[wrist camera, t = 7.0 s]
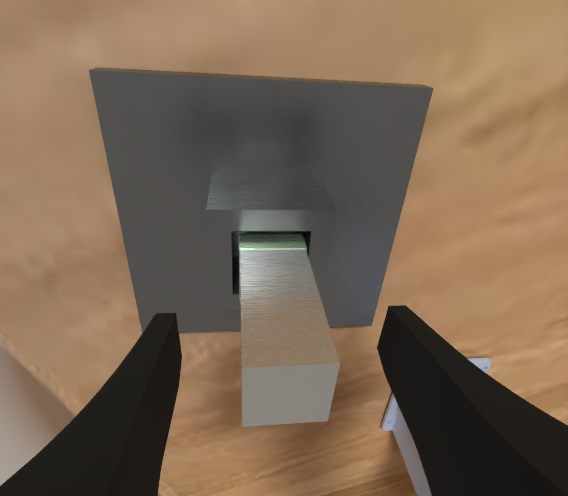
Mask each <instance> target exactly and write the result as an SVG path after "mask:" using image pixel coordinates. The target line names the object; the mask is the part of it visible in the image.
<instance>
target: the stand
mask: <svg viewBox="0 0 568 496" xmlns="http://www.w3.org/2000/svg"><path fill="white" fill-rule="evenodd" d="M89 72H90V77H91V82H92V87H93V92H94V97H95V102H96V106H97V111H98V116H99V121H100V126H101V131H102V136H103V141H104V146H105V151H106V156H107V161H108V165H109V170H110V175H111V180H112V185H113V190H114V195H115V200H116V205H117V210H118V215H119V220H120V225H121V229H122V234H123V239H124V244H125V249H126V254H127V259H128V264H129V269H130V274H131V279H132V284H133V288H134V293H135V298H136V303H137V308H138V313H139V318H140V323H141V328H142V333H143V332H144V330H145V329H146V327H147V326H148V324H149V322H150V321H151V319H152V318H153V316H154V315H155V314H156V313H176V316H177V324H178V331H179V333H182V332H210V331H239V330H241V309H240V301H239V237H240V234H301V235H302V237H304V240H305V244H306V247H307V251H306V252H307V255H308V258H309V261H310V265H311V268H312V271H313V275H314V278H315V281H316V285H317V288H318V291H319V295H320V298H321V301H322V305H323V308H324V311H325V315H326V318H327V321H328V324H329V327H352V326H372V322H373V318H374V314H375V310H376V307H377V303H378V299H379V295H380V291H381V287H382V283H383V280H384V276H385V272H386V268H387V264H388V260H389V256H390V253H391V249H392V245H393V241H394V237H395V233H396V230H397V226H398V222H399V218H400V214H401V210H402V206H403V203H404V199H405V195H406V191H407V187H408V183H409V179H410V176H411V172H412V168H413V164H414V160H415V156H416V152H417V149H418V145H419V141H420V137H421V133H422V129H423V126H424V122H425V118H426V114H427V110H428V106H429V102H430V99H431V95H432V91H433V88H431V87H428V86H425V85H413V84H395V83H376V82H357V81H339V80H320V79H301V78H283V77H264V76H245V75H227V74H208V73H189V72H171V71H152V70H133V69H115V68H94V69H91V70H89Z"/></svg>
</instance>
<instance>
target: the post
mask: <svg viewBox="0 0 568 496" xmlns="http://www.w3.org/2000/svg"><path fill="white" fill-rule="evenodd" d="M306 251H307V247H306V244H305V240H304V237H302V235H301V234H240V237H239V301H240V309H241V389H242V427H249V426H264V425H278V424H293V423H307V422H322V421H328V418H329V414H330V409H331V404H332V399H333V395H334V390H335V385H336V381H337V376H338V371H339V367H340V361H339V358H338V354H337V351H336V348H335V344H334V341H333V338H332V334H331V331H330V328H329V324H328V321H327V318H326V315H325V311H324V308H323V305H322V301H321V298H320V295H319V291H318V288H317V285H316V281H315V278H314V275H313V271H312V268H311V265H310V261H309V258H308V255H307V252H306Z"/></svg>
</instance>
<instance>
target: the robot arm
mask: <svg viewBox="0 0 568 496" xmlns="http://www.w3.org/2000/svg"><path fill="white" fill-rule="evenodd" d="M377 349H378V352H379V356H380V360H381V363H382V366H383V370H384V373H385V376H386V378H387V381H388V383H389V385H390V388H391V390H392V392H393V393H392V396H391V399H390V401H389V404H388V407H387V410H386V413H385V416H384V419H383V422H382V424H381V427H382V429H383V430H384V431H390V430H392V431H393V433H394V436H395V439H396V441H397V444H398V447H399V449H400V452H401V455H402V457H403V460H404V463H405V465H406V468H407V470H408V473H409V476H410V478H411V481H412V484H413V486H414V489H415V491H416V493H417V496H568V425H566V424H564V423H562V422H561V421H559V420H557V419H555V418H554V417H552V416H550V415H549V414H547V413H545V412H544V411H542V410H540V409H539V408H537V407H535V406H534V405H532V404H530V403H529V402H527V401H526V400H524V399H523V398H521V397H519V396H518V395H516V394H515V393H513V392H512V391H511V390H509V389H508V388H506V387H505V386H503V385H502V384H500V383H499V382H497V381H496V380H495V379H493V378H492V377H490V376H489V375H488V374H487V372H488V370H489V368H490V366H491V364H492V361H491V360H490V359H489V358H466V357H465V356H463V355H462V354H461V353H460V352H458V351H457V350H456V349H455V348H454V347H452V346H451V345H450V344H449V343H448V342H447V341H445V340H444V339H443V338H442V337H441V336H440V335H439V334H437V333H436V332H435V331H434V330H433V329H432V328H431V327H429V326H428V325H427V324H426V323H425V322H424V321H423V320H422V319H420V318H419V317H418V316H417V315H416V314H415V313H414V312H413V311H411V310H410V309H409V308H408V307H407V306H389V307H388V310H387V314H386V318H385V321H384V325H383V328H382V332H381V335H380V339H379V342H378V346H377ZM181 360H182V354H181V346H180V339H179V331H178V324H177V316H176V313H156V314H155V315H154V316H153V318H152V319H151V321H150V322H149V324H148V326H147V327H146V329H145V330H144V332H143V333H142V335H141V336H140V338H139V339H138V341H137V342H136V344H135V345H134V346H133V348H132V349H131V351H130V352H129V353H128V355H127V356H126V357H125V359H124V360H123V361H122V363H121V364H120V365H119V367H118V368H117V369H116V371H115V372H114V373H113V374H112V376H111V377H110V378H109V379H108V380H107V382H106V383H105V384H104V385H103V387H102V388H101V389H100V390H99V391H98V393H97V394H96V395H95V396H94V397H93V398H92V399H91V401H90V402H89V403H88V404H87V405H86V406H85V407H84V408H83V409H82V410H81V411H80V412H79V414H78V415H77V416H76V417H75V418H74V419H73V420H72V421H71V422H70V423H69V424H68V425H67V426H66V427H65V428H64V429H63V430H62V431H61V432H60V433H59V434H58V435H57V436H56V437H55V438H54V439H53V440H52V441H51V442H50V443H49V444H48V445H46V446H45V447H44V448H43V449H42V450H41V451H40V452H39V453H38V454H37V455H36V456H35V457H33V458H32V459H31V460H30V461H29V462H28V463H27V464H25V465H24V466H23V467H22V468H21V469H20V470H19V471H17V472H16V473H15V474H14V475H13V476H12V477H10V478H9V479H8V480H7V481H6V482H5V483H3V484H2V485H1V486H0V496H157V495H158V487H159V479H160V472H161V466H162V461H163V455H164V451H165V446H166V442H167V437H168V433H169V428H170V424H171V419H172V415H173V410H174V406H175V401H176V397H177V392H178V387H179V379H180V370H181Z"/></svg>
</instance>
